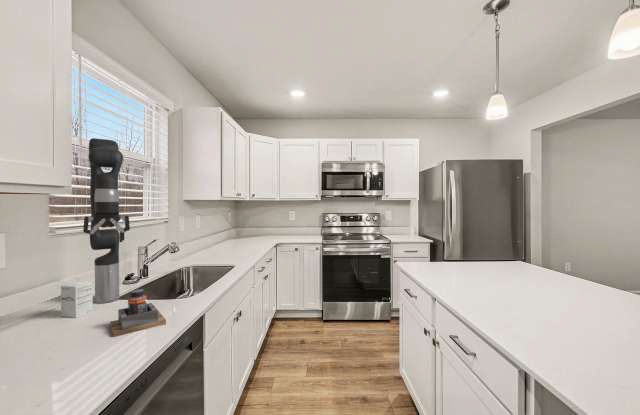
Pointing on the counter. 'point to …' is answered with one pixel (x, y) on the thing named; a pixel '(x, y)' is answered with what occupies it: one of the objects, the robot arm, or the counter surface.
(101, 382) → the counter surface
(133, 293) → the supplement bottle
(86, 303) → the supplement box
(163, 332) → the counter surface
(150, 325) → the socket stand
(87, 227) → the robot arm
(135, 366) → the counter surface
